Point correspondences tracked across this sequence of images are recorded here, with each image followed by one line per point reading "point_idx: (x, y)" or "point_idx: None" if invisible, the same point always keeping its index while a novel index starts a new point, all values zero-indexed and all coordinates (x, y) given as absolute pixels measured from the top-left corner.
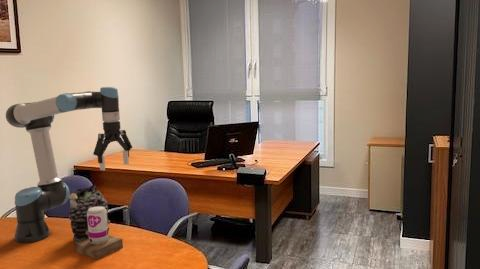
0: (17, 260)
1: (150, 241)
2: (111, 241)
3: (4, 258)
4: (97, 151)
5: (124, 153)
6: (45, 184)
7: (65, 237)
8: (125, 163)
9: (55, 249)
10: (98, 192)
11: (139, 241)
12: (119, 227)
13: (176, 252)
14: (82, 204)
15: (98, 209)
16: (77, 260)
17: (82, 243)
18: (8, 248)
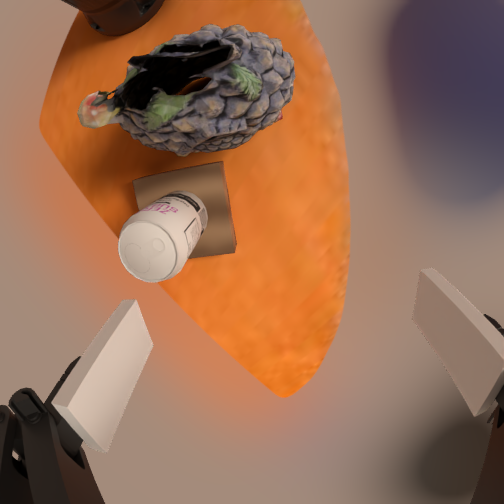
0: (53, 124)
1: (305, 268)
2: (204, 244)
3: (45, 95)
4: (23, 474)
5: (475, 361)
6: None
7: None
8: (420, 297)
9: None
10: (239, 93)
11: (288, 245)
12: (321, 106)
13: (293, 350)
14: (141, 130)
15: (150, 263)
16: None
17: (145, 193)
18: (68, 44)
